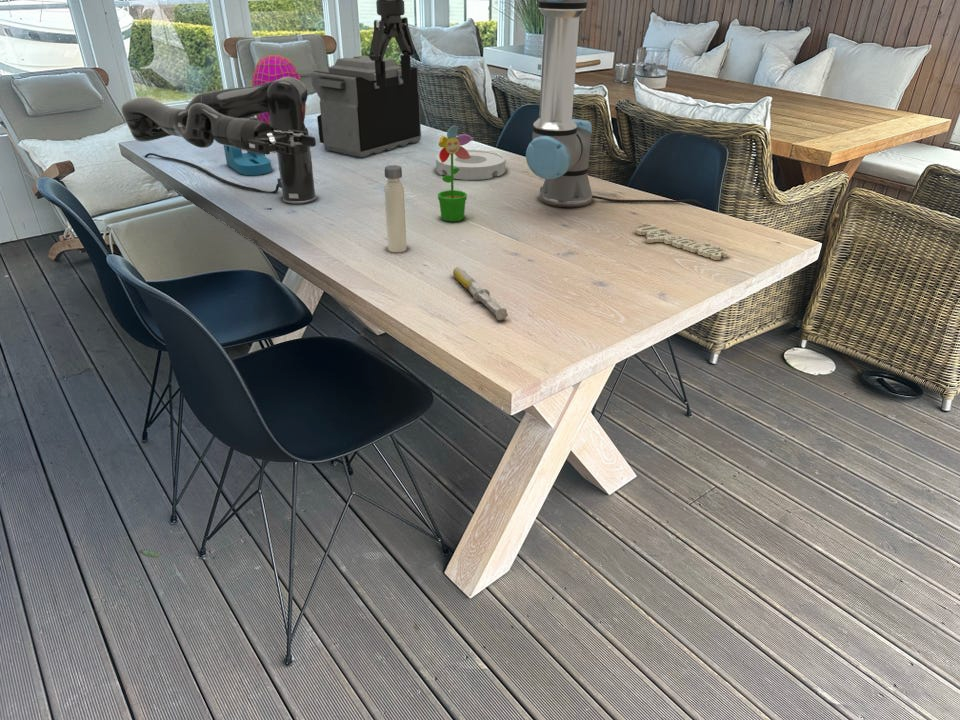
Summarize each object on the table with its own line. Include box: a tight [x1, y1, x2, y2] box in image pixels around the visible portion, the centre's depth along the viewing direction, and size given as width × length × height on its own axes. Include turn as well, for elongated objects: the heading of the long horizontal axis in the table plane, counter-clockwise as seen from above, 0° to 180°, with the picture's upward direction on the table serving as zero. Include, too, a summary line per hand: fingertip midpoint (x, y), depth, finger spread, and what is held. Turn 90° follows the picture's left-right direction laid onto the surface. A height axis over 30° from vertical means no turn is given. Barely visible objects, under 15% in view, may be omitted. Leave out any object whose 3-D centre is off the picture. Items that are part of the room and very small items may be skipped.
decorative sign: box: [636, 222, 728, 261], centre depth 173 cm, size 26×1×10 cm
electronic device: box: [310, 55, 422, 159], centre depth 250 cm, size 37×22×30 cm, turn 144°
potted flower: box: [437, 124, 474, 222], centre depth 182 cm, size 9×8×25 cm
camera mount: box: [223, 145, 272, 176], centre depth 226 cm, size 18×10×10 cm, turn 35°
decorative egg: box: [251, 54, 307, 125], centre depth 257 cm, size 19×19×30 cm
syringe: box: [452, 266, 509, 321], centre depth 145 cm, size 25×4×3 cm, turn 21°
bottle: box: [383, 178, 407, 253], centre depth 163 cm, size 4×4×20 cm
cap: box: [384, 164, 403, 180], centre depth 159 cm, size 4×4×2 cm
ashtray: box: [435, 149, 507, 181], centre depth 229 cm, size 23×23×4 cm
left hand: (302, 145), depth 161 cm, fingers open, 8 cm apart
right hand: (394, 83), depth 195 cm, fingers open, 13 cm apart
